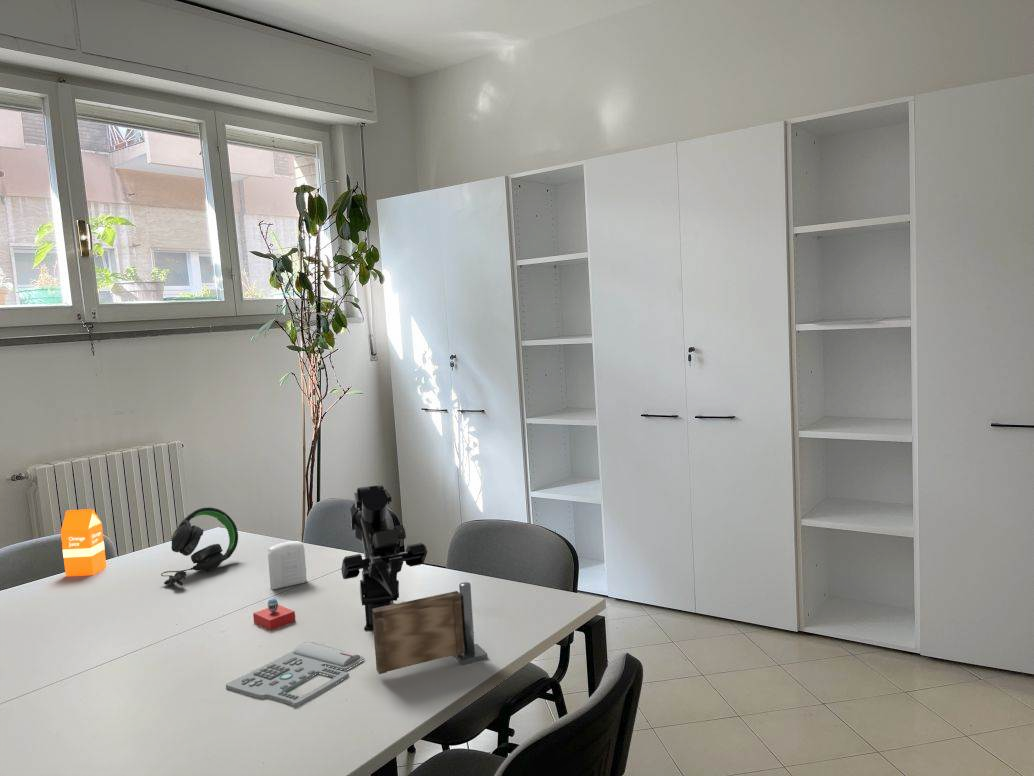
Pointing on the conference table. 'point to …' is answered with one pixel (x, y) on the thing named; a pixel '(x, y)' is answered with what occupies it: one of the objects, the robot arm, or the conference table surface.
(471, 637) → the gate post
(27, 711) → the conference table surface
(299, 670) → the office telephone
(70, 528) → the orange juice
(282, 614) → the joystick
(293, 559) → the white tombstone
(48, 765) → the conference table surface
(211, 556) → the headset
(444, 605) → the gate
